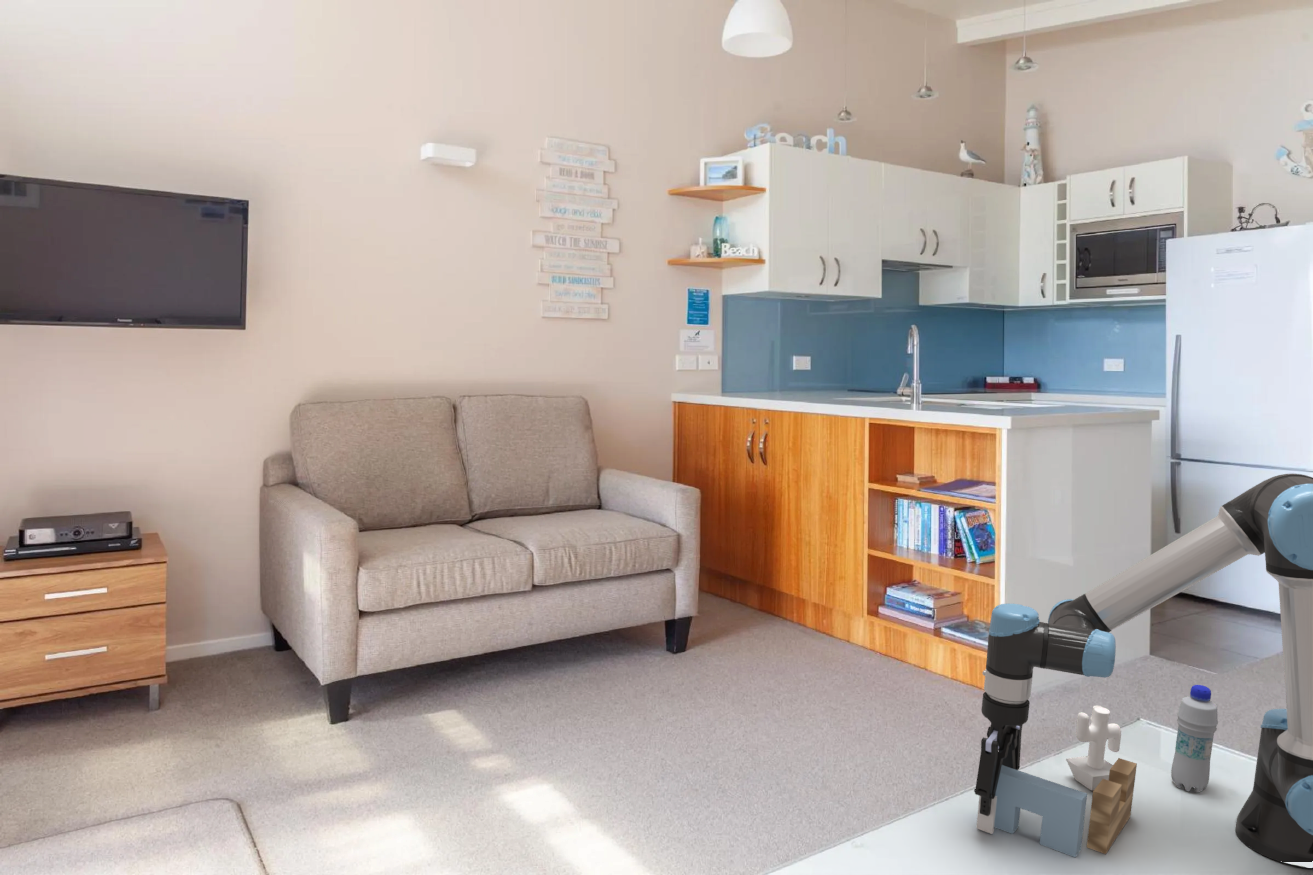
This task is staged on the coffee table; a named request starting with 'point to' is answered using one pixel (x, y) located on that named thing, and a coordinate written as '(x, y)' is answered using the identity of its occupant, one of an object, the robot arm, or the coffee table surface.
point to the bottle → (1194, 739)
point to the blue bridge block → (1041, 809)
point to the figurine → (1094, 747)
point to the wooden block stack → (1111, 806)
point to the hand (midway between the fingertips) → (993, 820)
